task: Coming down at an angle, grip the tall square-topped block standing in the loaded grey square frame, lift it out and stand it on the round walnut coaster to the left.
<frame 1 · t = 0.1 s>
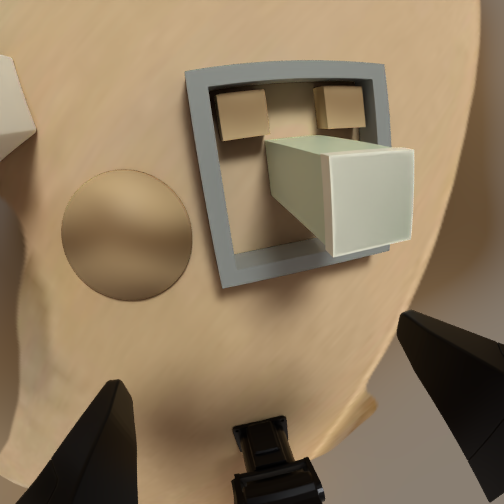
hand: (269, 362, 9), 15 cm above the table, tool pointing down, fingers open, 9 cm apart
parts block b: (238, 115, 19), resting in grey square frame
tall square-topped block: (294, 164, 21), resting in grey square frame
coaster: (124, 238, 21), on the table
parts block a: (332, 107, 20), resting in grey square frame
grey square frame: (295, 164, 21), on the table
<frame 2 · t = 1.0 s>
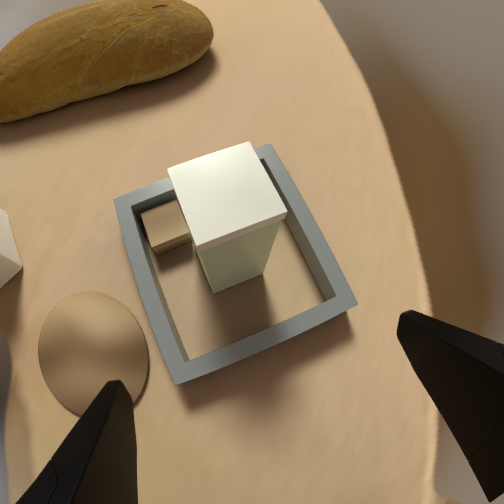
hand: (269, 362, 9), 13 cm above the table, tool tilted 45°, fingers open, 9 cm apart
bread: (87, 69, 31), on the table
parts block b: (169, 232, 24), resting in grey square frame
tall square-topped block: (227, 260, 23), resting in grey square frame
coaster: (89, 355, 20), on the table
grey square frame: (227, 259, 23), on the table
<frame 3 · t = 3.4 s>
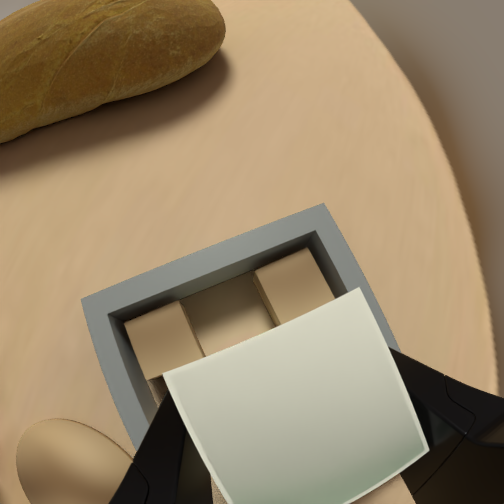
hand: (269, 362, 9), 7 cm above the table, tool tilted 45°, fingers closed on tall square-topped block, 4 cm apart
bread: (59, 80, 23), on the table
parts block b: (170, 343, 16), resting in grey square frame
tall square-topped block: (261, 387, 15), resting in grey square frame, touching gripper
coaster: (81, 492, 11), on the table
parts block a: (288, 293, 17), resting in grey square frame
grey square frame: (261, 387, 15), on the table
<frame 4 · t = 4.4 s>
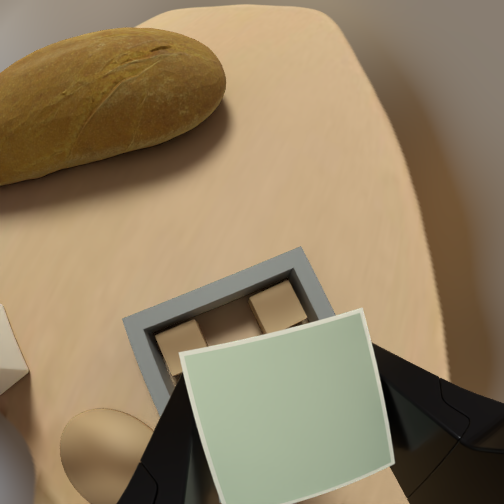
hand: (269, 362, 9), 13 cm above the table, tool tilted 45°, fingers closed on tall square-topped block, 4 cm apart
bread: (77, 119, 29), on the table
parts block b: (187, 348, 21), resting in grey square frame
tall square-topped block: (253, 378, 16), point 5 cm above the table, touching gripper
coaster: (115, 466, 17), on the table
parts block a: (274, 312, 23), resting in grey square frame
grey square frame: (253, 380, 21), on the table
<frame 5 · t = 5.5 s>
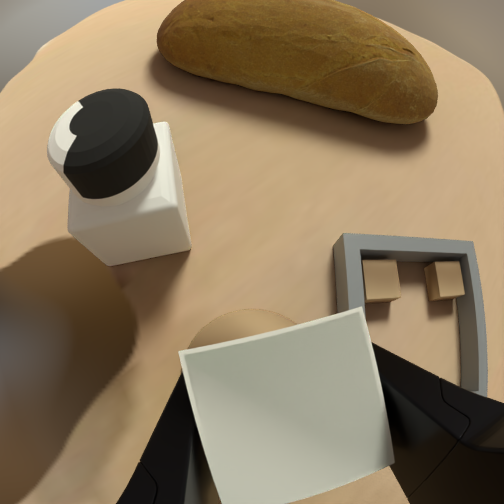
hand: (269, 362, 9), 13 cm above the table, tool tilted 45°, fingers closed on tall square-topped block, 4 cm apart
medicine bottle: (145, 220, 24), on the table
bread: (294, 63, 33), on the table
parts block b: (371, 285, 23), resting in grey square frame
tall square-topped block: (255, 377, 16), point 5 cm above the table, touching gripper
coaster: (252, 378, 20), on the table
parts block a: (437, 284, 24), resting in grey square frame
grey square frame: (412, 331, 22), on the table
when the fingers open (9 cm above the table, at t = 6.5 s): tall square-topped block stays where it is, resting on coaster.
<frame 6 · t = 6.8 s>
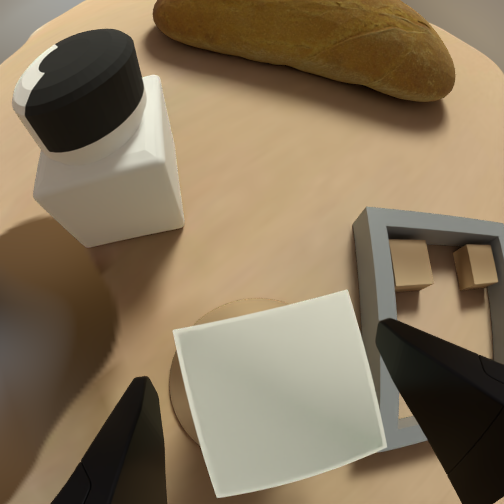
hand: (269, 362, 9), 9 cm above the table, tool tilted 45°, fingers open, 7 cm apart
medicine bottle: (131, 195, 20), on the table
bread: (301, 39, 29), on the table
parts block b: (397, 271, 19), resting in grey square frame
tall square-topped block: (255, 378, 16), resting on coaster
coaster: (258, 384, 16), on the table
parts block a: (467, 271, 20), resting in grey square frame
grey square frame: (444, 324, 18), on the table
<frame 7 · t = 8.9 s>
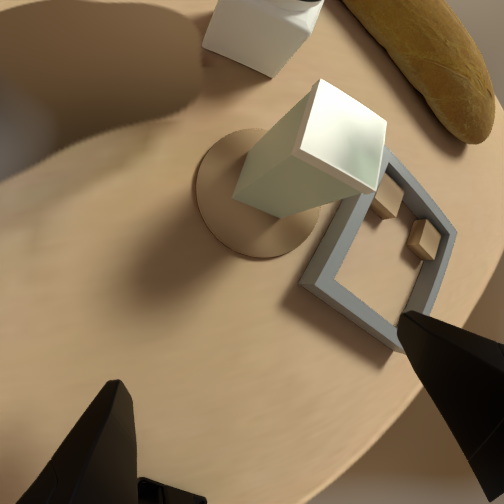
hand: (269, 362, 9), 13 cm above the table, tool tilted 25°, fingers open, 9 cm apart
medicine bottle: (249, 41, 23), on the table
bread: (403, 42, 32), on the table
parts block b: (376, 198, 27), resting in grey square frame
tall square-topped block: (264, 184, 23), resting on coaster
coaster: (261, 191, 23), on the table
parts block a: (416, 240, 29), resting in grey square frame
grey square frame: (385, 253, 27), on the table
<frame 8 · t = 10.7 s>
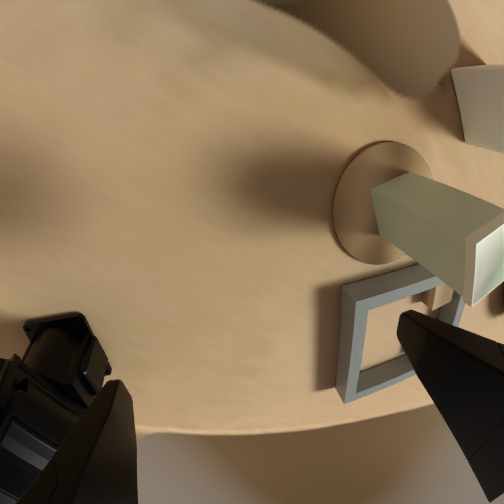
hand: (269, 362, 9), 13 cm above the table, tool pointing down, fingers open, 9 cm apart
medicine bottle: (476, 101, 20), on the table
parts block b: (432, 284, 28), resting in grey square frame
tall square-topped block: (395, 203, 22), resting on coaster
coaster: (388, 204, 22), on the table
grey square frame: (400, 323, 28), on the table
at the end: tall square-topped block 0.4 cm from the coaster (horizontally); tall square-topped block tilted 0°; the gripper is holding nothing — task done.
